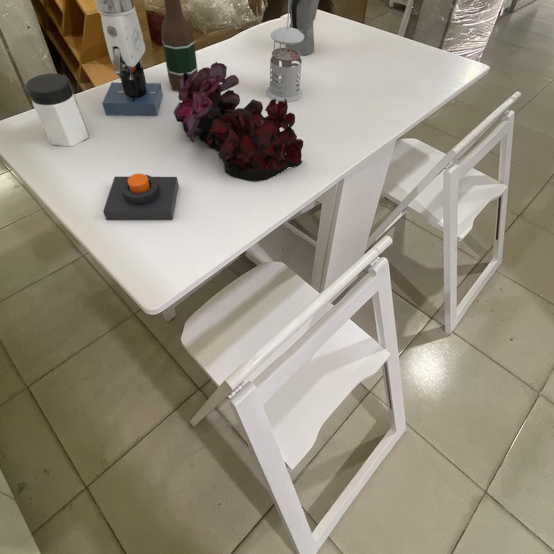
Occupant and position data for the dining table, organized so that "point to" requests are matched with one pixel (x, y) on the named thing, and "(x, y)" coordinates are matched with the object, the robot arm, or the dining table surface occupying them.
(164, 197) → the switch block
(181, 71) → the beer bottle
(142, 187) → the button
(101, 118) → the dining table surface
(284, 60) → the french press
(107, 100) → the dial base
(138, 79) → the temp dial
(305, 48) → the coffeepot
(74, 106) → the jar
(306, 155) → the dining table surface
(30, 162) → the dining table surface
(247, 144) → the flower arrangement
